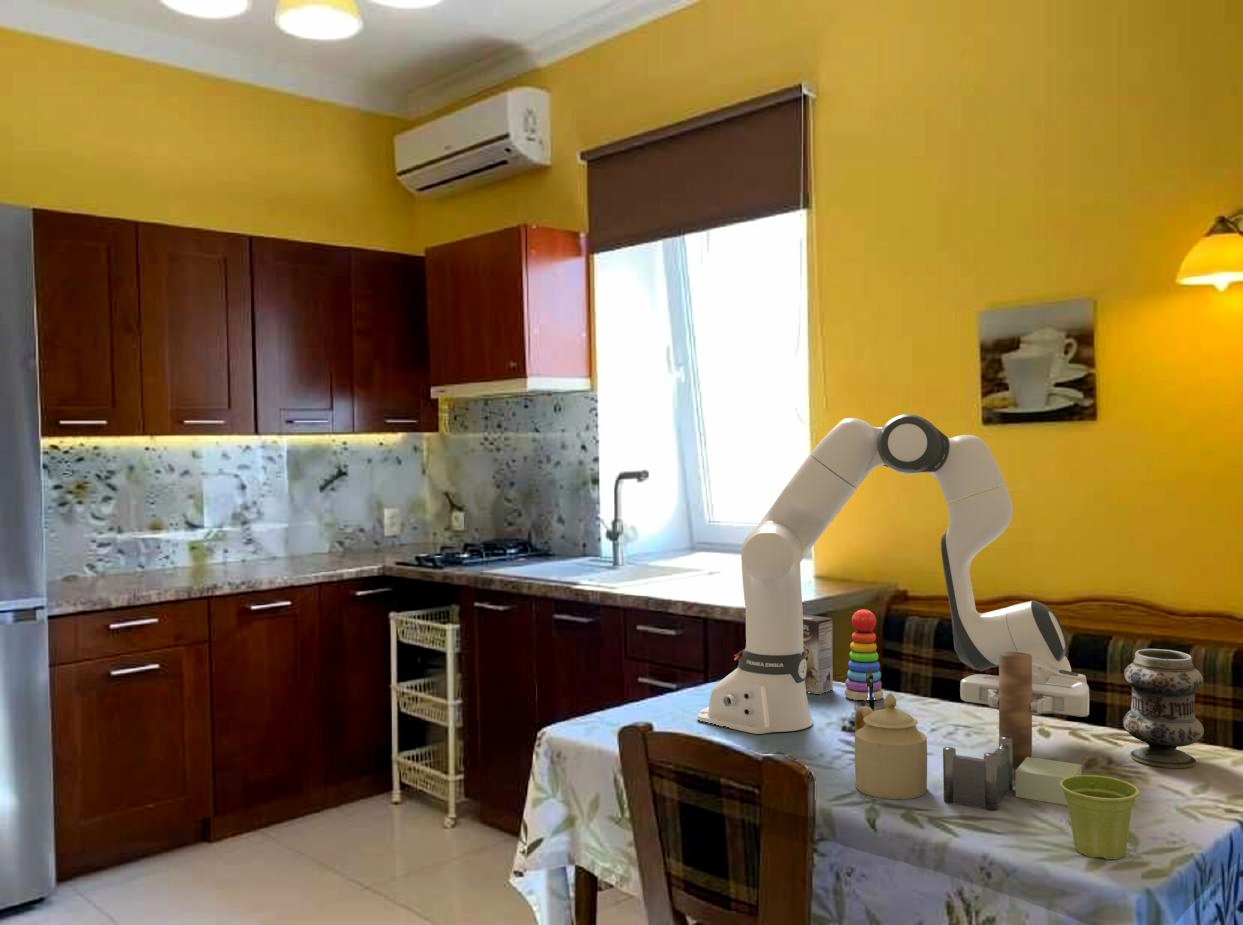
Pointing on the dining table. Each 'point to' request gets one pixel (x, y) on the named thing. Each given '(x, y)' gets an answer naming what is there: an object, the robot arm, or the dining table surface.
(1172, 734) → the apothecary jar
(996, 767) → the corner post block
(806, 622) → the coffee box
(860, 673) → the stacking toy
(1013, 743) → the brown wooden cylinder
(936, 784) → the dining table surface
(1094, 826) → the plant pot
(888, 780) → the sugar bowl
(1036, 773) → the block
